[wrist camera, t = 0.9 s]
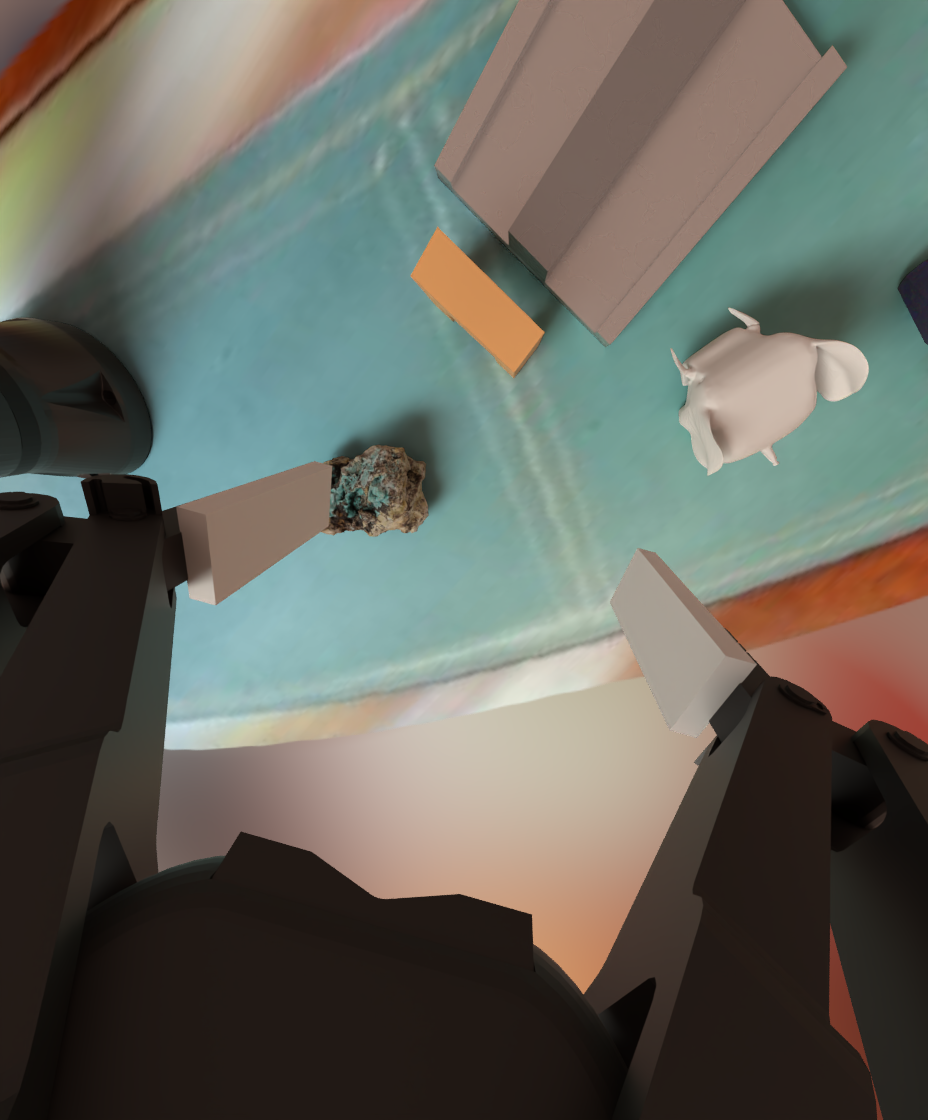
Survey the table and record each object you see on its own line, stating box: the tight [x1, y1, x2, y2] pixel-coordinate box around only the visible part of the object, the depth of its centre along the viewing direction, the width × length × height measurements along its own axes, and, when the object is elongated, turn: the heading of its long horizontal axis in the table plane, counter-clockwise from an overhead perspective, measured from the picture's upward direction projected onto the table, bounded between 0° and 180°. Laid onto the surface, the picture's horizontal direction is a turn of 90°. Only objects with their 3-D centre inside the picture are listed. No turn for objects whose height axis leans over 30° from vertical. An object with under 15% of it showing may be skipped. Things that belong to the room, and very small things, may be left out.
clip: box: [411, 227, 545, 378], centre depth 26 cm, size 9×3×8 cm, turn 51°
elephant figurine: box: [670, 308, 869, 476], centre depth 26 cm, size 10×12×9 cm
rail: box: [434, 0, 847, 347], centre depth 23 cm, size 18×18×4 cm
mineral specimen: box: [321, 445, 428, 537], centre depth 35 cm, size 12×9×8 cm
